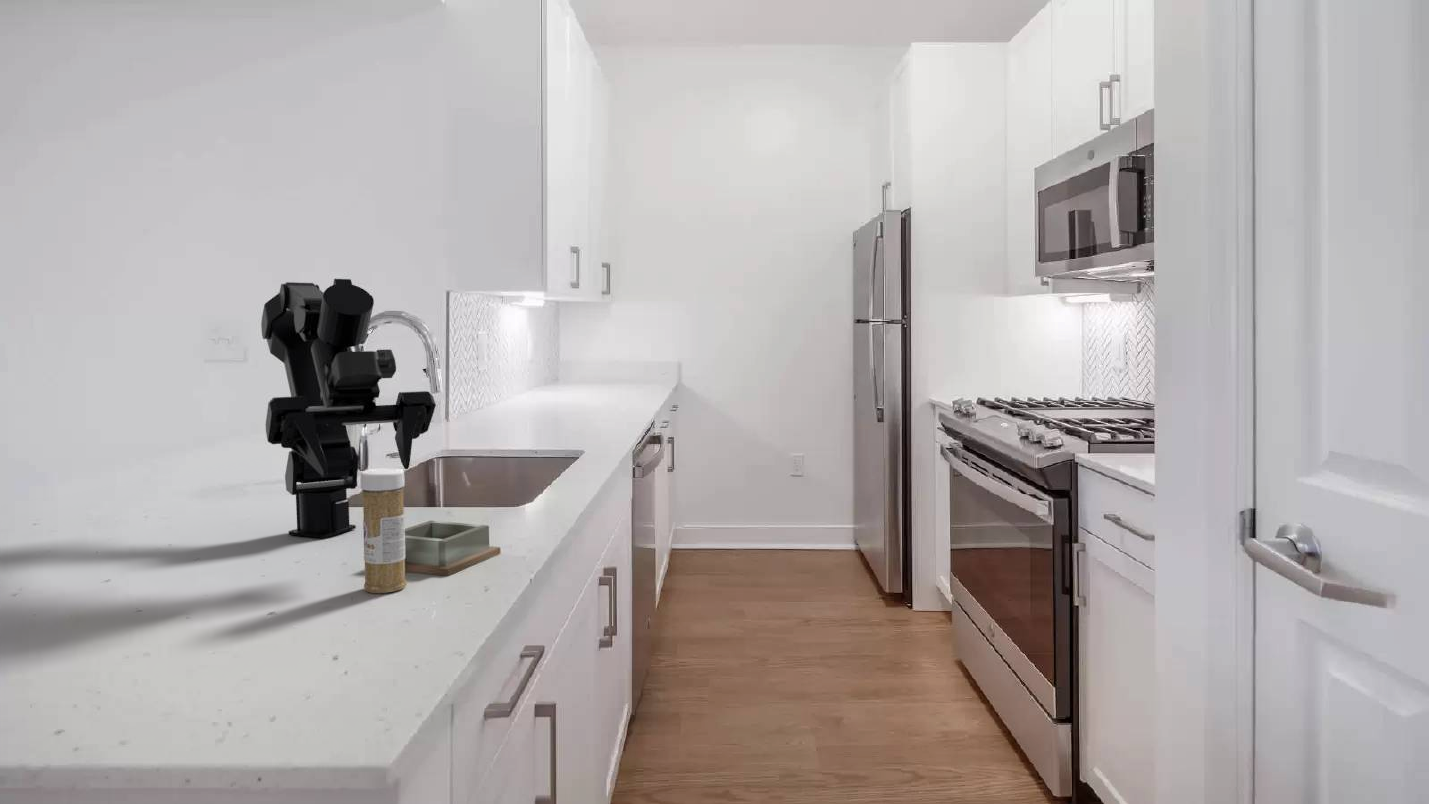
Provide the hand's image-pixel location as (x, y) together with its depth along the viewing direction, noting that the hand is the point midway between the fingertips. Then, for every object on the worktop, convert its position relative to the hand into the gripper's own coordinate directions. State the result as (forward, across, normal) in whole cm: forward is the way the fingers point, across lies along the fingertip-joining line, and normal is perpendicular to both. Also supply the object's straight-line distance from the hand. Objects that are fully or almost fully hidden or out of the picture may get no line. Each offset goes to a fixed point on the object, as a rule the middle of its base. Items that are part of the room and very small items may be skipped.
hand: (367, 470), depth 102 cm
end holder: (+7, +9, +10) cm, 15 cm away
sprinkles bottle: (+14, 0, +4) cm, 14 cm away
